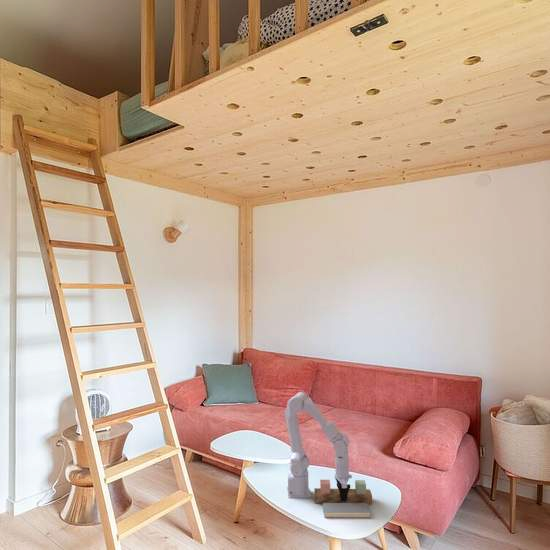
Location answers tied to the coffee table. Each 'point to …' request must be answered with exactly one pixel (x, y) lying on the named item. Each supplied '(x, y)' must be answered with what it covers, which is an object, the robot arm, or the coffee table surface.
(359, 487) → the pale green cube
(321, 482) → the pink cube
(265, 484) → the coffee table surface
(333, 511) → the block
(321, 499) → the brown wooden bar
